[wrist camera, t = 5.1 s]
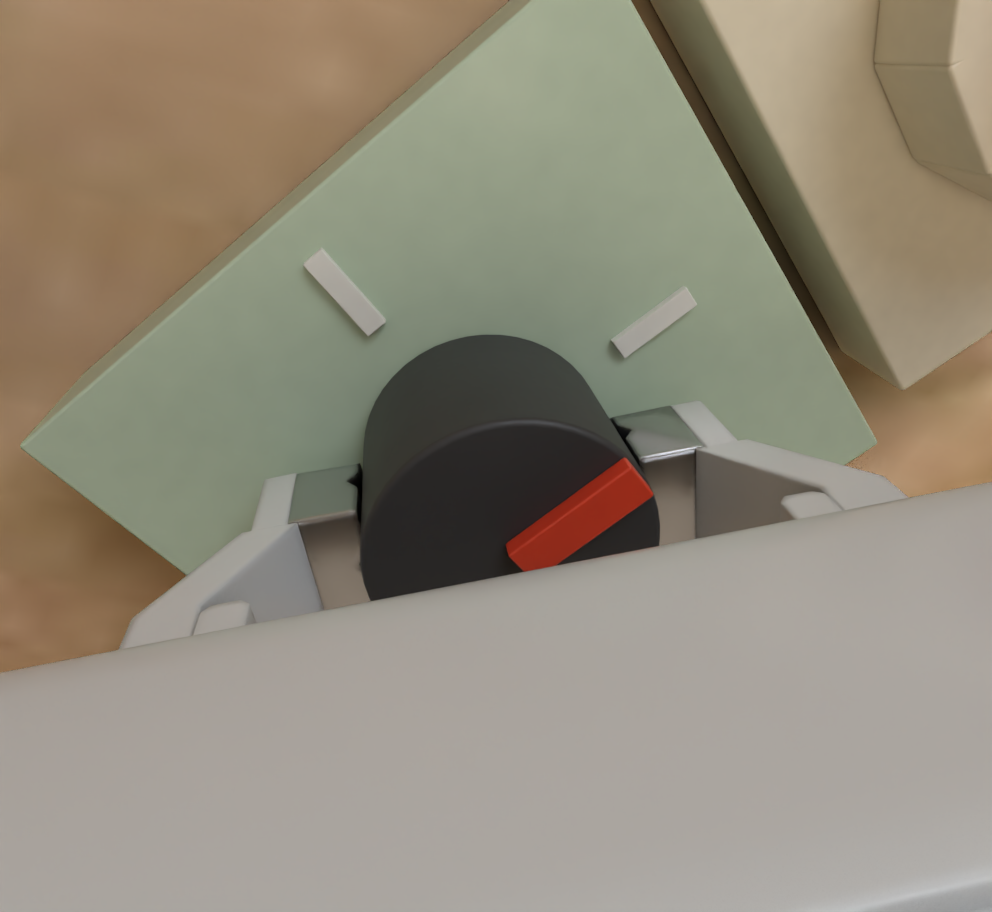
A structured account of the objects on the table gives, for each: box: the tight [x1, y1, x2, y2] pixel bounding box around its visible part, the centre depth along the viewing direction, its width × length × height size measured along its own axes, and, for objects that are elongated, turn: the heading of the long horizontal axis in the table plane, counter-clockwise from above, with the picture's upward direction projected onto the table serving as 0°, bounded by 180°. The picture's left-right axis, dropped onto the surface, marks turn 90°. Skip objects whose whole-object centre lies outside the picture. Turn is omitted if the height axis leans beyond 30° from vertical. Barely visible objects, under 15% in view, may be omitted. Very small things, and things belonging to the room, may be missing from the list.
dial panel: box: [20, 0, 877, 575], centre depth 14 cm, size 11×10×3 cm
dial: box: [360, 335, 660, 601], centre depth 11 cm, size 4×4×4 cm
